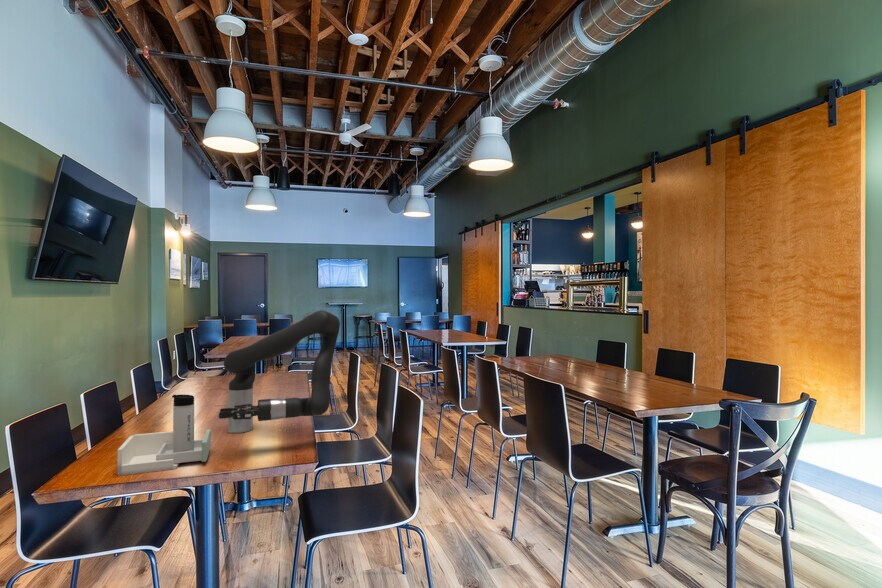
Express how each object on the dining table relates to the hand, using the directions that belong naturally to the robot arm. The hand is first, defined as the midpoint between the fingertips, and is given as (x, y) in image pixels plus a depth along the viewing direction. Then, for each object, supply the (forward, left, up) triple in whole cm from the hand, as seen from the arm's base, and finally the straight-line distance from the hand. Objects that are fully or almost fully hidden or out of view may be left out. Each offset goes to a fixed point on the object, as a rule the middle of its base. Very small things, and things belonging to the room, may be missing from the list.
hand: (219, 413), depth 162 cm
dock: (-20, 0, -15) cm, 25 cm away
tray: (-11, 0, -13) cm, 17 cm away
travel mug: (-11, 0, -13) cm, 17 cm away
